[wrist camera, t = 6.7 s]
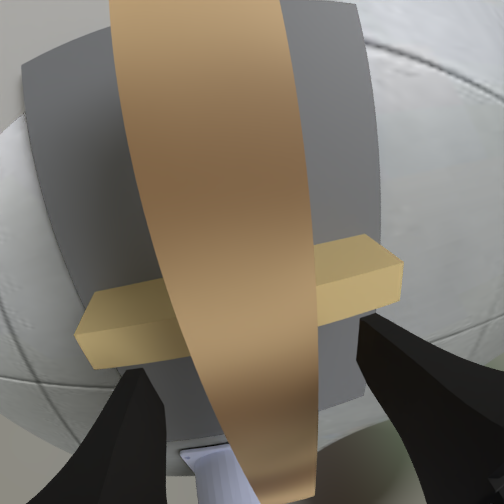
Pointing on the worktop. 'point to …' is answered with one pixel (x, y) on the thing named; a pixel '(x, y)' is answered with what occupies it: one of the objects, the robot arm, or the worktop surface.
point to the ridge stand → (136, 229)
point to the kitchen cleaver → (39, 39)
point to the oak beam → (229, 217)
